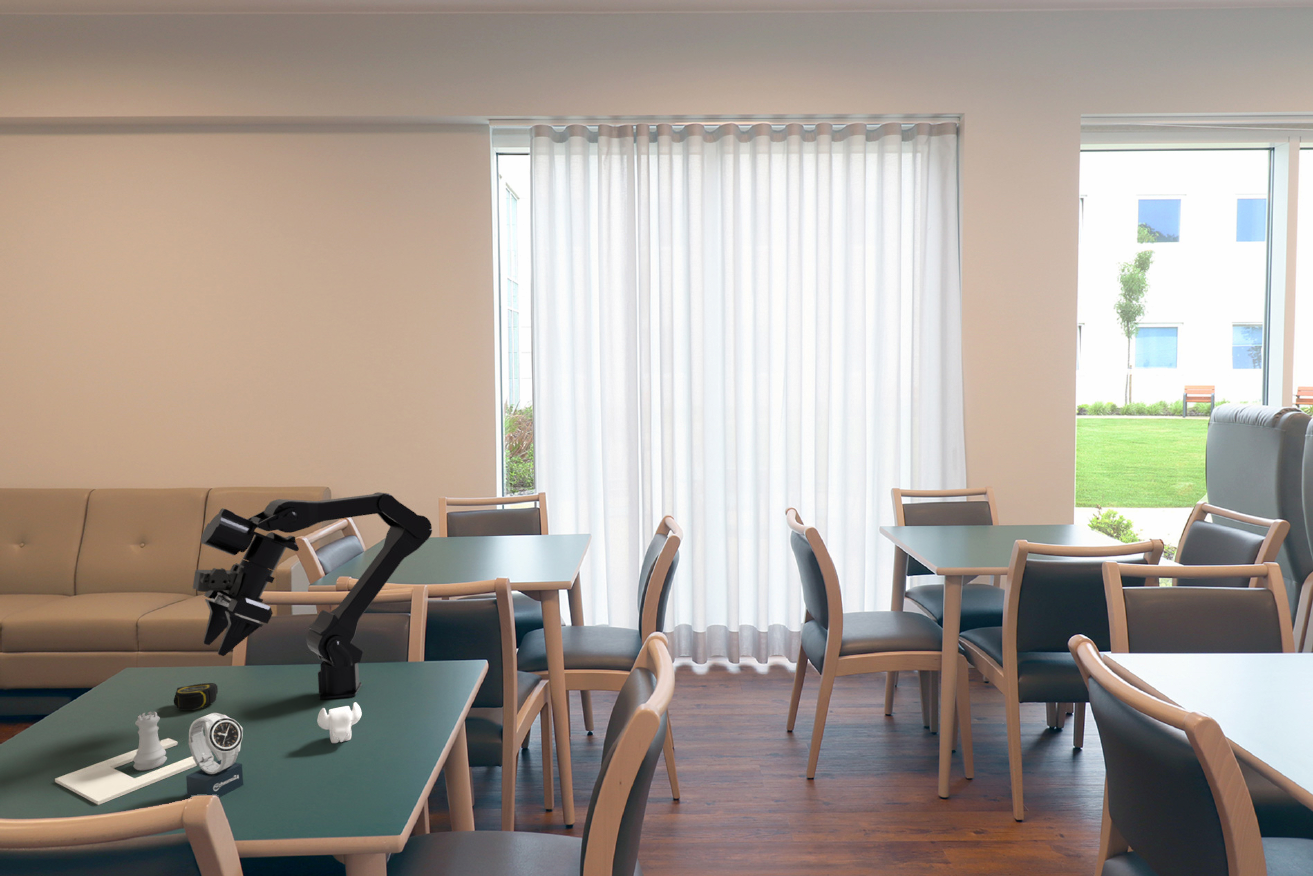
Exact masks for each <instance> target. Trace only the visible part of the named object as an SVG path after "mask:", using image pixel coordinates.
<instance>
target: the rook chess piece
mask: <svg viewBox="0 0 1313 876" xmlns="http://www.w3.org/2000/svg"><path fill="white" fill-rule="evenodd" d="M160 719H161V718H160V716H159V715H158V713H157V711H148V712H147V715H146V712H143V713H141V714H139V715H137V720H136V721H135V722H134V724H135V725H136V727H138V731H137V734H138V737H139V738H138V739H139V740H138V747H137V749H138V751H137V752H136V753H137V754H136V755H135V757H134V759H133V760H134V761H133V762H134V764H133V769H135V770H137V771H138V772H140V771H141V772H144V771H150V770H155V769H156V768H157V769H158V768H159V767H161V766H162V765H165V763H166V761H167V759H168V757H167V756H166V754H167V751H166V749H163V748H162V745H160V742H159V741H160V738H159V734H158V733H159V731H158V730H159V729H160V727H159V726H158V722H159V721H160Z"/></svg>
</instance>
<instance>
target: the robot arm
mask: <svg viewBox="0 0 1313 876" xmlns="http://www.w3.org/2000/svg"><path fill="white" fill-rule="evenodd" d="M376 514H377V516H378V517H380V519H381V520H382V521H383V522H384V523H385V524H386V525H387V526H389V529H388V530H387V532H386V535H385V539H384V540H385V541H384V543H383V547H382V548H381V550H380V551H379V552H378V554H377V555H376V556H375V557H374V559H373V560H372V561H371V562H370V564H369V566H367V568H366V569H365V571H364V572H363V573H362V575H361V576H360V577H359V578H358V580H357V581H356V582H355V584H354V586H353V587H352V588H351V589H350V591H348V593H347V595H346V596H345V597H344V598H343V600H342V601H341V603H339V605H338V606H337V607H336V608H335V609H333V610H331V611H330V612H329V611H328V610H325V609H321V611H320V612H319V614H318V616H317V617H316V619H315V620H314V621H313V623H311V624H310V625H308V627H307V628H308V629H309V631H308V632H307V634H306V638H305V639H306V645H307V647H308V649H309V650H310V651H311V652H313V653H315V654H316V655H317V657H318V659H319V660H321V661H322V662H321V663H320V669H319V671H318V672H317V681H318V686H317V687H318V693H319V694H320V695H319V697H318V698H319V700H328V699H338V698H348V697H350V698H351V697H355V696H356V695H357V694H358V692H359V691H360V688H361V687H362V682H361V681H360V672H359V671H360V670H359V663H361V659H362V657H363V653H364V652H363V650H362V649H360V648H359V647H357V646H356V645H354V644H352V642H353V640H354V638H355V635H356V633H357V628H358V626H359V625H358V624H359V622H360V619H361V617H362V616H363V615H364V613H365V612H366V611H367V609H369V606H370V605H371V604H372V602H374V600H375V599H376V597H377V596H378V594H379V593H380V592H381V590H382V589H383V588H384V586H385V585H386V584H387V582H388V581H389V579H390V578H391V577H392V576H393V574H394V572H395V571H396V570H397V568H399V566H400V564H401V563H402V562H403V560H405V559H406V558H407V557H409V556H410V555H412V554H413V553H414V552H416V551H418V550H420V548H421V547H422V546H423V545H424V544H425V543H426V542H427V541H428V540H429V539H430V537H431V535H432V534H433V529H432V523H431V520H430V519H429V518H427V517H426V516H424V515H421V514H420V515H418V514H417V513H416V512H415V511H413V510H412V509H411V508H409V507H407V506H406V505H404V504H403V503H401V502H400V501H399V500H398V499H397V498H395V497H394V496H393V495H392V494H390V493H387V492H381V491H380V492H374V493H372V494H371V493H370V494H365V495H364V494H363V495H355V496H348V497H339V498H331V499H324V500H303V499H301V500H300V499H284V498H279V499H278V498H277V499H274V500H272V501H270V502H269V504H267V505H266V507H265V508H264V510H262V511H260V512H259V513H257V514H254V515H252V516H249V518H246V517H242V516H240V515H238V514H236V513H235V512H234V511H232V510H229V509H228V508H225V507H224V508H223V507H222V508H220V510H219V511H218V513H217V514H216V515H215V516H214V517H213V518H212V519H211V521H210V522H209V523H207V525H206V527H205V528H204V530H203V532H202V535H201V538H200V543H201V544H202V545H205V546H207V547H210V548H213V549H216V550H218V551H221V552H222V553H226V554H228V555H231V556H236V555H238V554H239V553H244V555H243V557H242V559H241V560H240V563H237V562H236V563H235V564H232V566H231V567H230V569H229V570H226V569H225V568H222V567H221V568H216V567H214V568H212V569H195V570H194V577H193V584H192V589H193V590H195V589H196V591H197V592H205V593H204V595H203V596H204V597H206V598H204V601H205V603H206V604H207V607H208V610H209V615H208V621H207V624H206V629H205V634H204V638H203V644H204V645H207V646H210V645H211V644H212V643H213V642H215V640H216V639H217V638H218V637H219V636H220V635H221V634H222V633H223V632H224V635H223V637H222V640H221V641H220V644H219V645H220V646H219V648H218V651H217V655H218V656H220V657H221V656H222V657H225V656H226V655H228V653H230V652H231V651H232V650H233V649H235V648H236V647H237V646H238V645H239V644H240V643H241V642H243V641H244V640H245V639H246V638H247V637H249V636H250V635H251V634H253V633H254V632H255V631H256V630H258V629H259V628H262V627H263V625H264V624H268V623H269V622H270V620H271V617H272V616H273V610H272V606H270V605H268V604H266V603H263V601H264V599H263V598H261V597H262V595H263V592H264V591H265V590H266V588H267V585H268V584H269V583H271V584H273V583H274V580H275V577H273V574H274V571H275V570H276V568H277V566H278V564H279V562H280V560H282V557H283V556H284V555H283V554H284V553H285V551H286V549H288V550H290V551H293V552H299V550H300V547H299V546H298V544H297V541H296V536H293V535H287V536H282V535H281V534H278V533H275V532H273V531H278V532H283V533H287V534H288V533H289V534H290V533H295V532H298V531H302V530H304V529H308V528H311V527H313V526H315V525H317V524H320V523H323V522H327V521H332V520H333V521H334V520H340V519H341V520H342V519H347V518H349V519H350V518H353V517H354V518H356V517H361V516H362V517H363V516H369V515H376ZM256 529H258V530H263V531H265V532H268V533H267V534H266V535H264V534H262V533H259V532H257V531H255V530H256ZM207 598H208V599H207Z"/></svg>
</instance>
